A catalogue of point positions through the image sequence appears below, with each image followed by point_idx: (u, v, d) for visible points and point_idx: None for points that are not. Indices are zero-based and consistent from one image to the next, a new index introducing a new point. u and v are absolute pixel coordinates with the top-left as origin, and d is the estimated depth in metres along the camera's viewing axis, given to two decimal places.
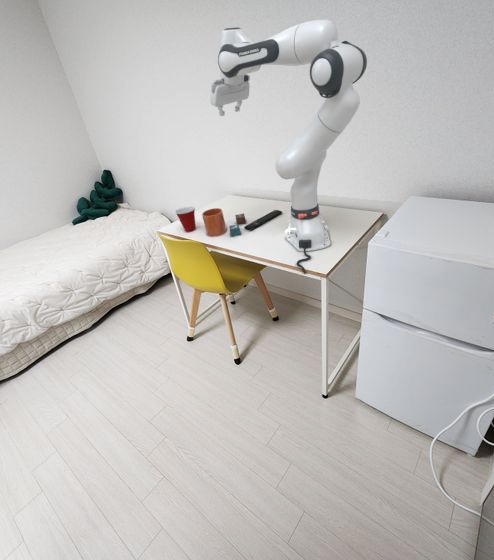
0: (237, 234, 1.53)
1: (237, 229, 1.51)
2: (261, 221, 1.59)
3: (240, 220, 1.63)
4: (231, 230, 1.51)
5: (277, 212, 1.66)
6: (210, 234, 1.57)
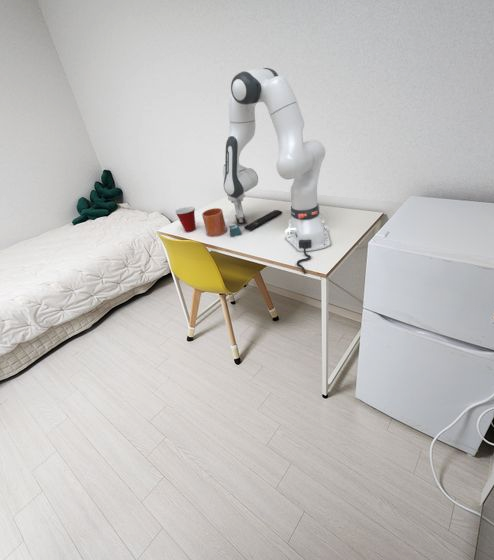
0: (237, 234, 1.53)
1: (237, 229, 1.51)
2: (261, 221, 1.59)
3: None
4: (231, 230, 1.51)
5: (277, 212, 1.66)
6: (210, 234, 1.57)
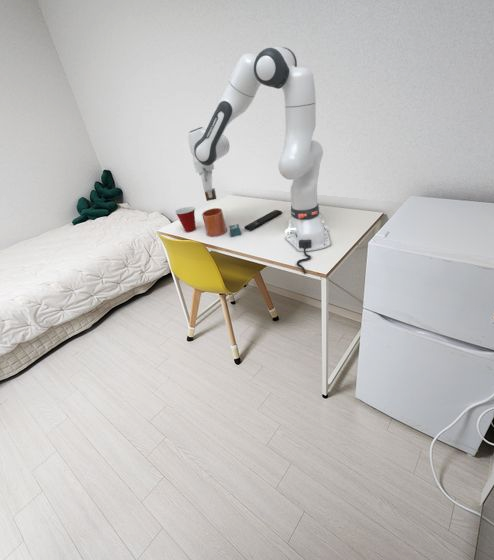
0: (237, 234, 1.53)
1: (237, 229, 1.51)
2: (261, 221, 1.59)
3: None
4: (231, 230, 1.51)
5: (277, 212, 1.66)
6: (210, 234, 1.57)
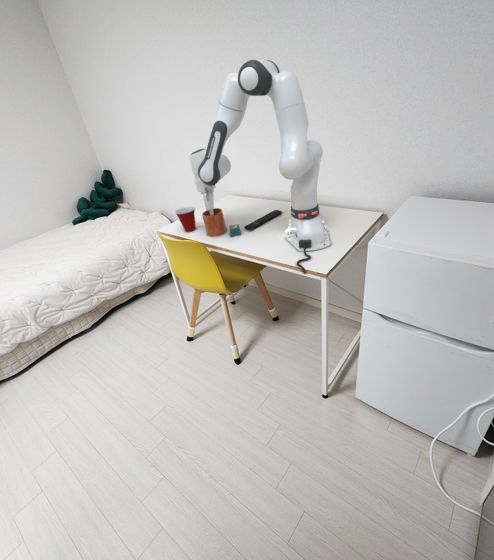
0: (237, 234, 1.53)
1: (237, 229, 1.51)
2: (261, 221, 1.59)
3: None
4: (231, 230, 1.51)
5: (277, 212, 1.66)
6: (210, 234, 1.57)
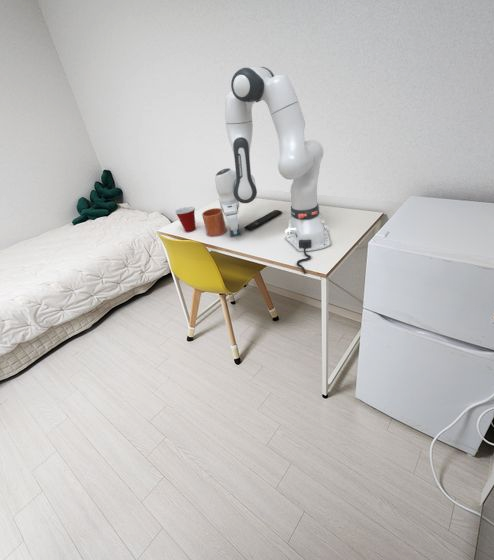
0: (237, 234, 1.53)
1: (237, 229, 1.51)
2: (261, 221, 1.59)
3: None
4: None
5: (277, 212, 1.66)
6: (210, 234, 1.57)
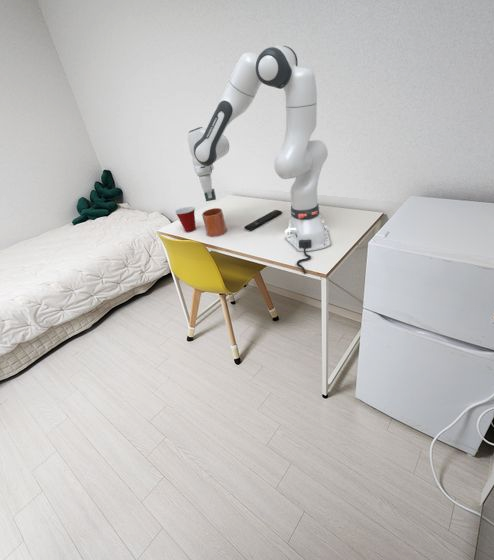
0: (212, 198, 1.48)
1: (212, 193, 1.46)
2: (261, 221, 1.59)
3: None
4: (206, 194, 1.46)
5: (277, 212, 1.66)
6: (210, 234, 1.57)
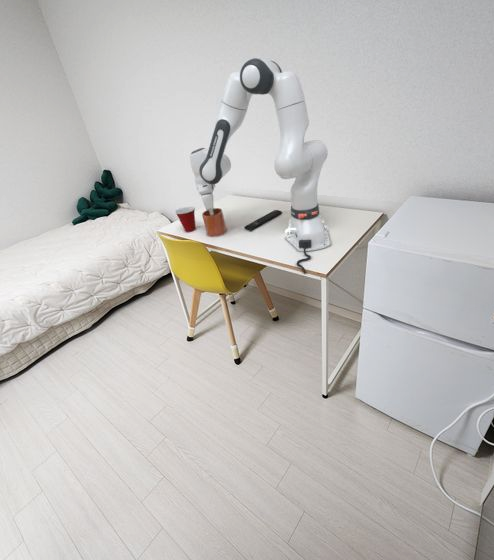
0: None
1: None
2: (261, 221, 1.59)
3: None
4: None
5: (277, 212, 1.66)
6: (210, 234, 1.57)
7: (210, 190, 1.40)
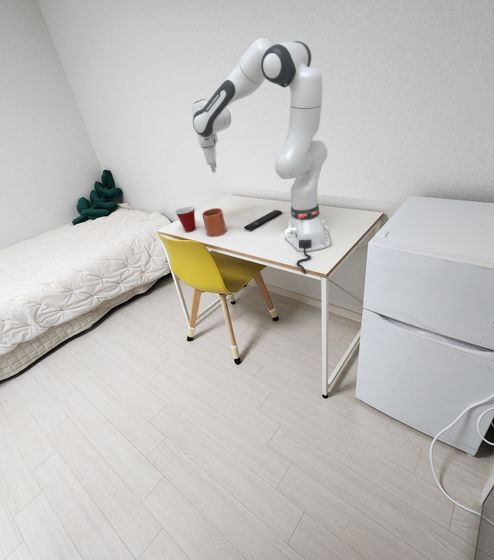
0: None
1: None
2: (261, 221, 1.59)
3: None
4: None
5: (277, 212, 1.66)
6: (210, 234, 1.57)
7: (212, 143, 1.37)
